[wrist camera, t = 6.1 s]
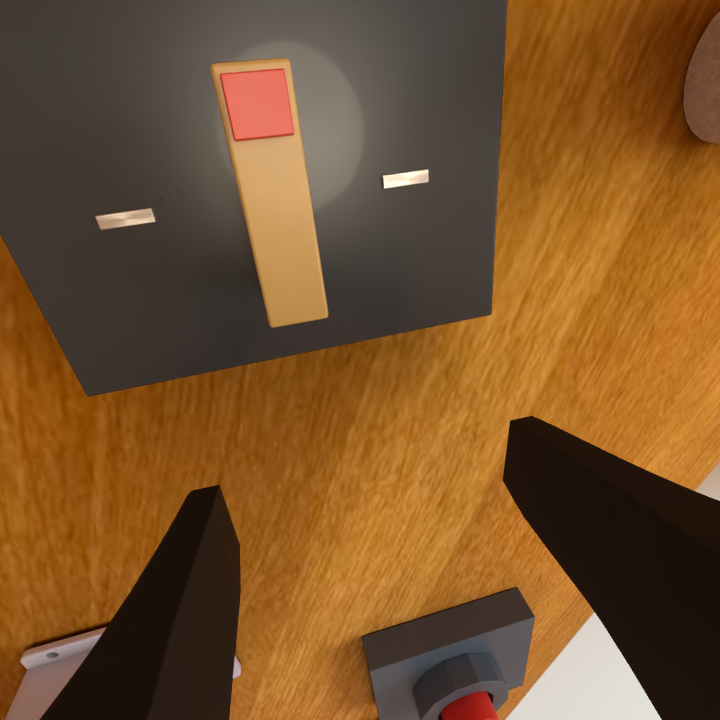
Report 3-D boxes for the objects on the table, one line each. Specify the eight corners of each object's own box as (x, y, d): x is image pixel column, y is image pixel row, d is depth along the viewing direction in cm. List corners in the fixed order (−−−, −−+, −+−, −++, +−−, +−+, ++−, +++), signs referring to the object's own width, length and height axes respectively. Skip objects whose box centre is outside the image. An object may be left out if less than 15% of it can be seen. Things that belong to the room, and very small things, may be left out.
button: (440, 722, 28) (450, 754, 27) (439, 699, 26) (450, 731, 25) (486, 705, 29) (498, 735, 27) (488, 681, 27) (502, 712, 25)
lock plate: (116, 356, 15) (84, 400, 12) (-39, 22, 10) (-148, -29, 7) (456, 291, 17) (494, 316, 14) (458, -12, 12) (515, -63, 10)
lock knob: (312, 279, 12) (331, 322, 9) (267, 287, 12) (270, 333, 9) (280, 88, 10) (290, 52, 7) (224, 93, 10) (206, 59, 6)
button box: (375, 701, 32) (389, 767, 29) (361, 636, 27) (376, 705, 24) (508, 655, 34) (536, 712, 30) (517, 586, 29) (552, 644, 26)
